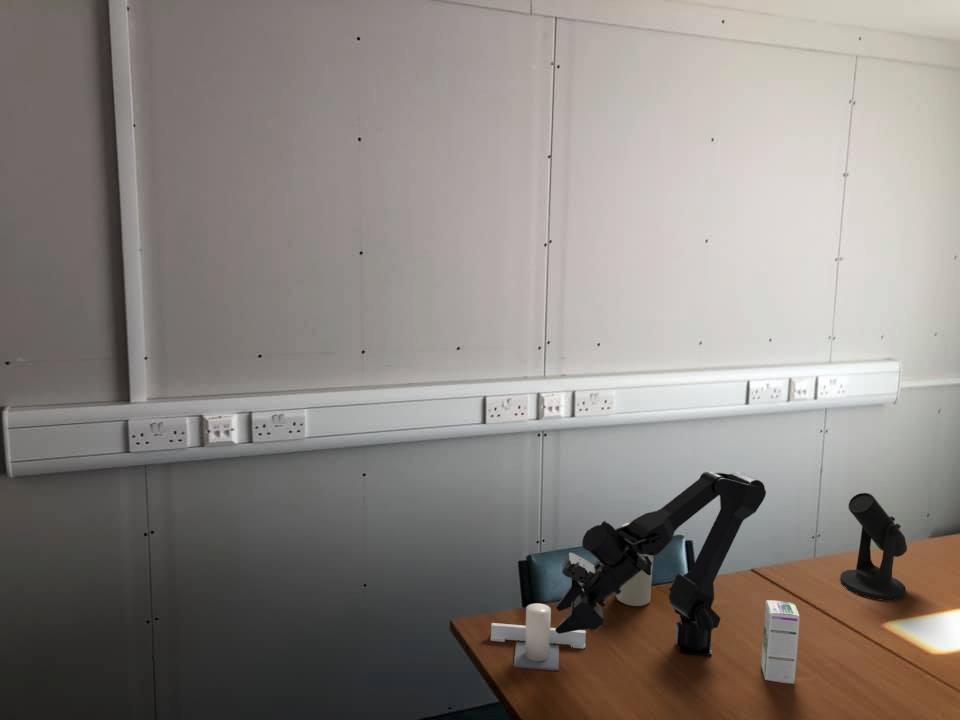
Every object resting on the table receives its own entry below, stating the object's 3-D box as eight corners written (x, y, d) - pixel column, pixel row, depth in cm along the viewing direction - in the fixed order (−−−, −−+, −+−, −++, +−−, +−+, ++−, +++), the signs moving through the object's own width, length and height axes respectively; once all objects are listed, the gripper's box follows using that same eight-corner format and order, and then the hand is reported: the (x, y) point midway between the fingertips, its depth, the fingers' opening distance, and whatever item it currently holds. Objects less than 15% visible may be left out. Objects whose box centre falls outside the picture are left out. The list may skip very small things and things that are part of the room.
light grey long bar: (584, 641, 165) (585, 628, 164) (585, 648, 162) (585, 635, 161) (491, 633, 167) (492, 620, 166) (490, 640, 164) (491, 627, 163)
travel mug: (654, 597, 185) (659, 526, 183) (642, 610, 179) (647, 537, 176) (623, 588, 190) (628, 519, 187) (611, 601, 183) (615, 529, 180)
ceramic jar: (549, 649, 160) (550, 604, 159) (549, 662, 155) (550, 615, 154) (525, 647, 161) (526, 602, 159) (524, 660, 156) (525, 614, 154)
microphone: (822, 578, 199) (832, 485, 195) (875, 571, 204) (886, 480, 200) (866, 604, 185) (878, 505, 181) (922, 596, 190) (935, 499, 186)
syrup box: (795, 684, 151) (802, 615, 148) (763, 680, 152) (770, 612, 150) (789, 668, 156) (796, 602, 154) (759, 664, 157) (765, 598, 155)
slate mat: (558, 647, 162) (559, 645, 162) (558, 670, 153) (558, 668, 153) (516, 643, 163) (516, 641, 163) (513, 666, 154) (513, 665, 154)
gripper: (586, 526, 162) (532, 572, 165) (588, 564, 144) (527, 614, 147) (622, 564, 163) (567, 608, 166) (628, 606, 144) (567, 655, 147)
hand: (557, 620), depth 156 cm, fingers open, 9 cm apart
